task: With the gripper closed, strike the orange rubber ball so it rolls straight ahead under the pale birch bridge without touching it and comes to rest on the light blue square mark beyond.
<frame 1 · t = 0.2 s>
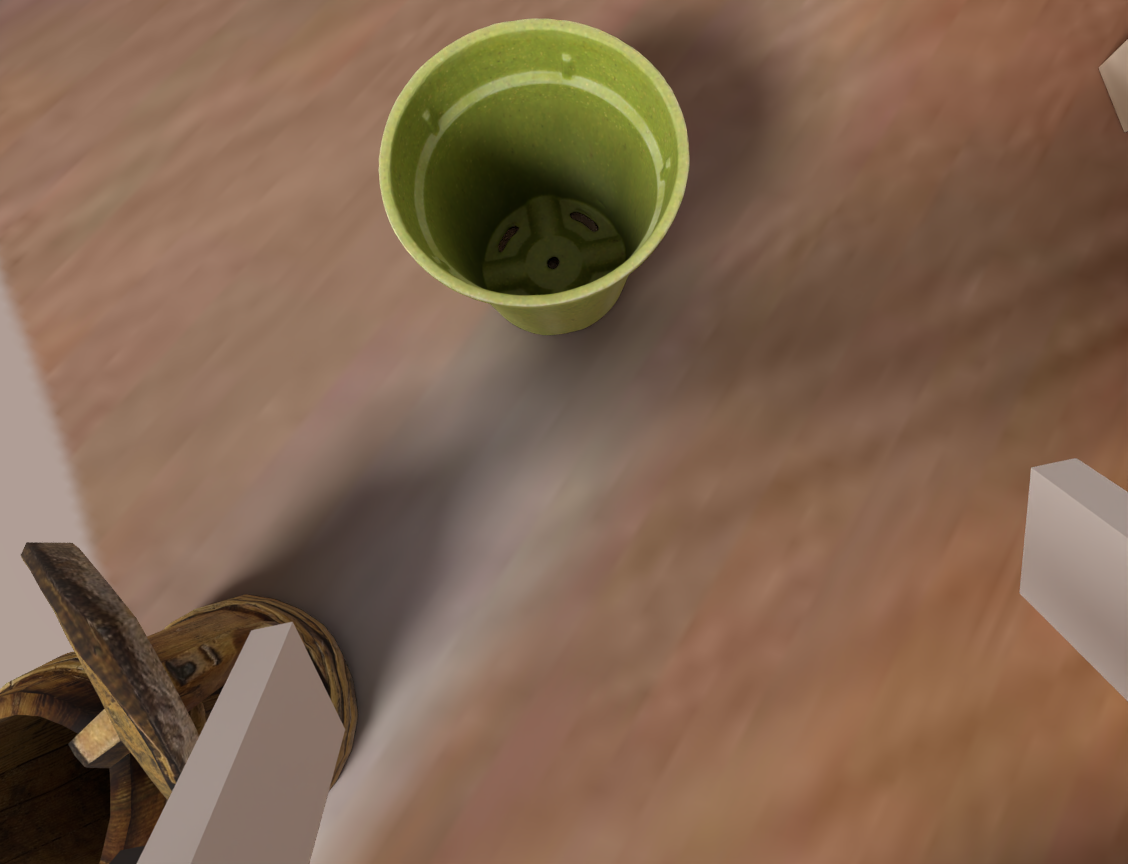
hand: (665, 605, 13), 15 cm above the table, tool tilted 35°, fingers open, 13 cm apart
wooden mug: (295, 677, 28), on the table
plant pot: (556, 267, 30), on the table
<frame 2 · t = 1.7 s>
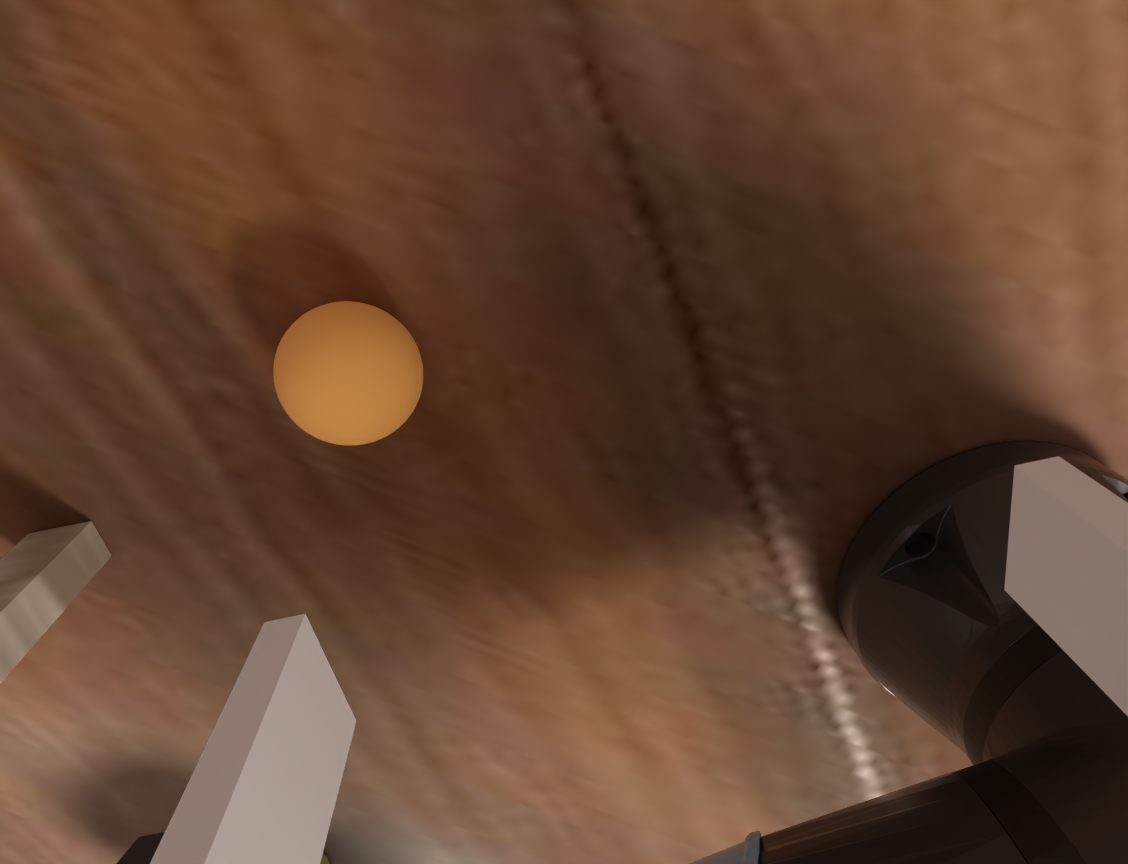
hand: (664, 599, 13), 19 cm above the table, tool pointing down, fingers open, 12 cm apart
ball: (350, 373, 27), on the table
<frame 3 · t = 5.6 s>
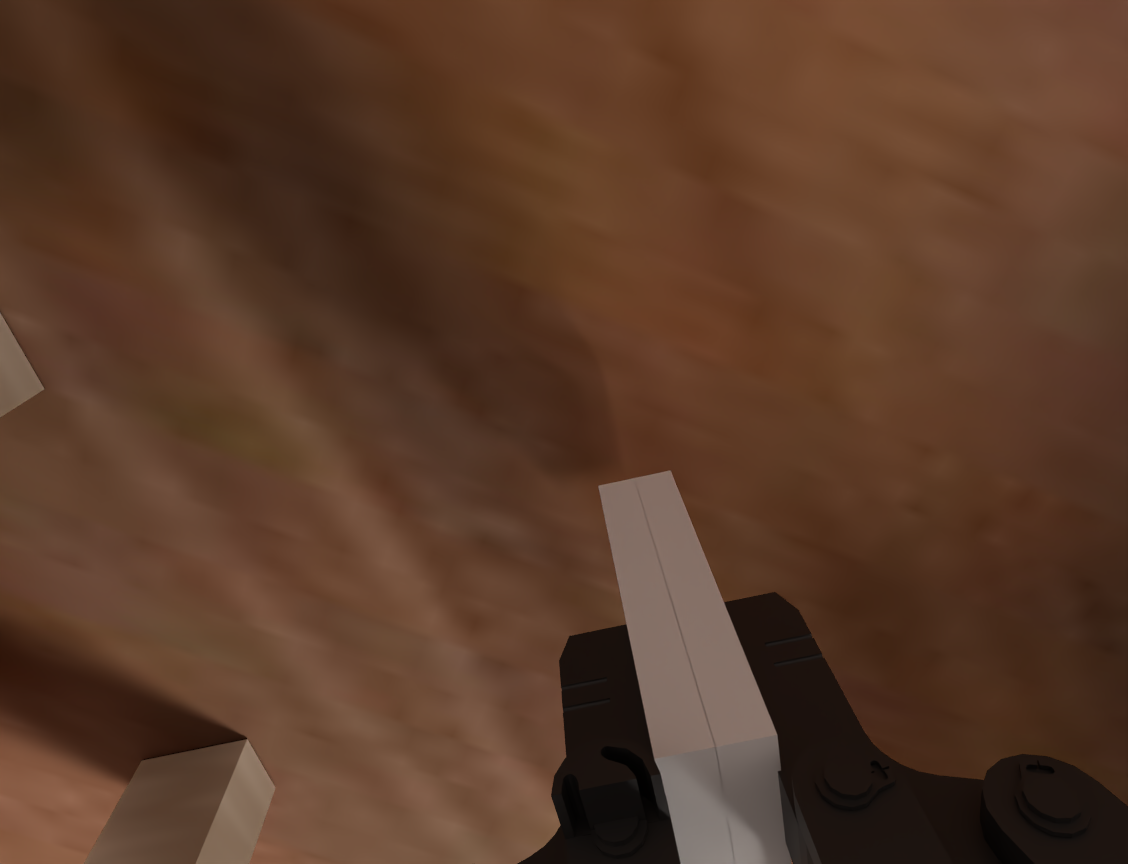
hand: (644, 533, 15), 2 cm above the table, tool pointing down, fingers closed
bridge: (99, 600, 17), on the table
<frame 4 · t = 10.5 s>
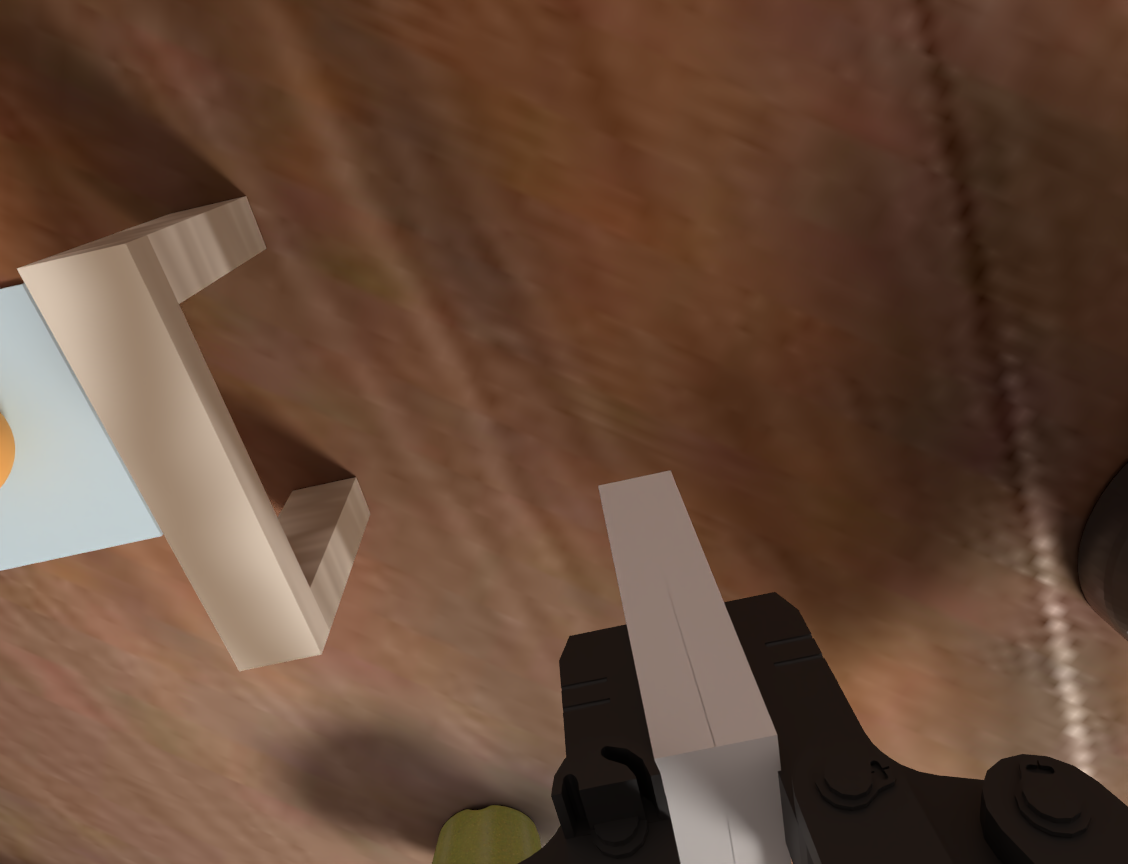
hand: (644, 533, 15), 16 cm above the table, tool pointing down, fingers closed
bridge: (280, 379, 30), on the table
plant pot: (488, 832, 44), on the table
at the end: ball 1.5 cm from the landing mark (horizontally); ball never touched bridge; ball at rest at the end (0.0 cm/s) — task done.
